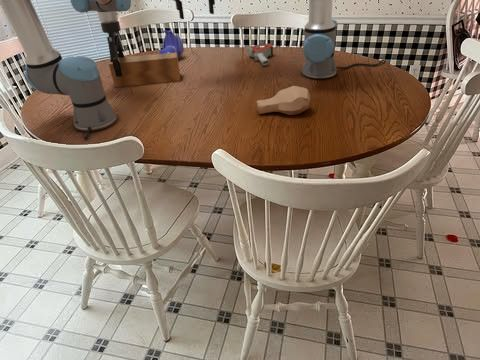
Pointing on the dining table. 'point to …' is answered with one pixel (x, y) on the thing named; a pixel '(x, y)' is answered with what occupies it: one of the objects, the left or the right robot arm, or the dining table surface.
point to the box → (146, 69)
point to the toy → (172, 44)
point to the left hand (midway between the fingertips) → (121, 71)
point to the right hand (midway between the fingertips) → (197, 16)
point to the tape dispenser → (261, 53)
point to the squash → (286, 101)
